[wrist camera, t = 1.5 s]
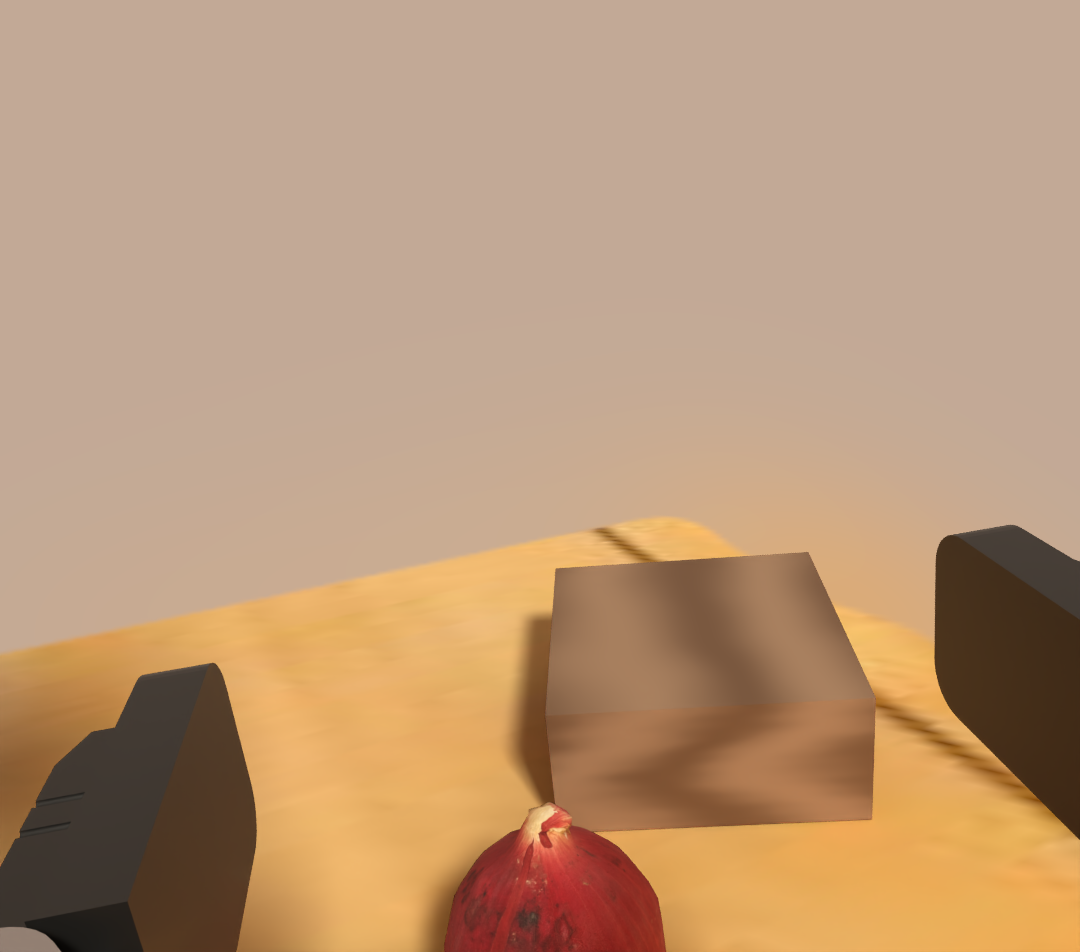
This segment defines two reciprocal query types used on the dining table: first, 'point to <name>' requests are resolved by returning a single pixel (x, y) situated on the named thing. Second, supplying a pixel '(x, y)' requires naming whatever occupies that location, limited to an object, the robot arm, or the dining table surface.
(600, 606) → the walnut block
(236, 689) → the dining table surface
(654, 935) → the onion
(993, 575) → the robot arm
